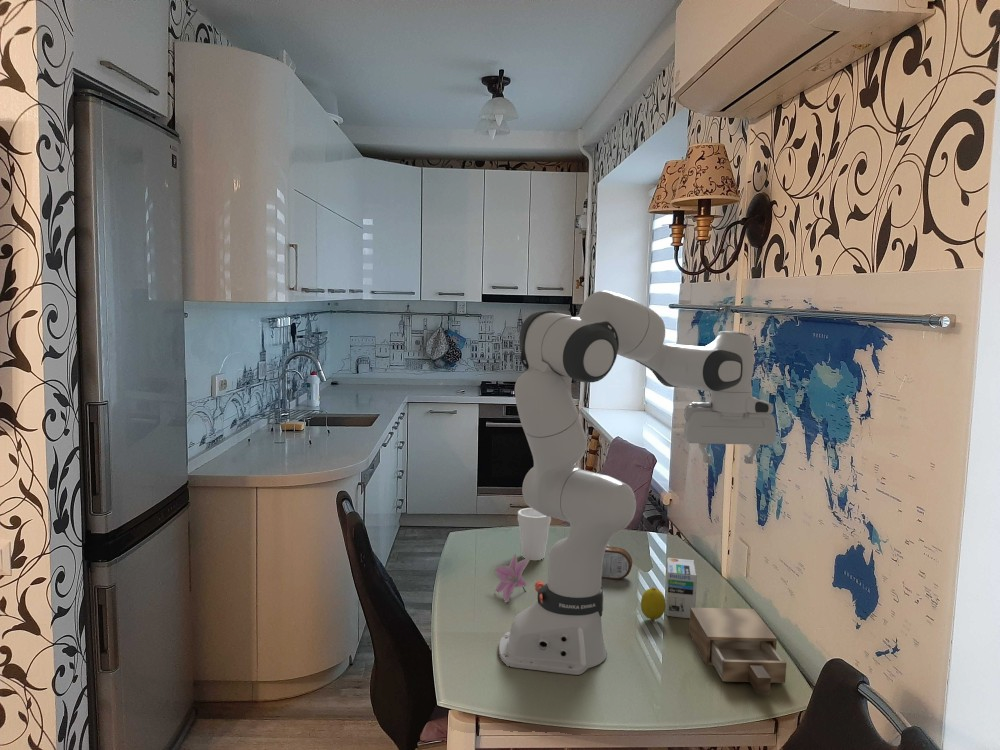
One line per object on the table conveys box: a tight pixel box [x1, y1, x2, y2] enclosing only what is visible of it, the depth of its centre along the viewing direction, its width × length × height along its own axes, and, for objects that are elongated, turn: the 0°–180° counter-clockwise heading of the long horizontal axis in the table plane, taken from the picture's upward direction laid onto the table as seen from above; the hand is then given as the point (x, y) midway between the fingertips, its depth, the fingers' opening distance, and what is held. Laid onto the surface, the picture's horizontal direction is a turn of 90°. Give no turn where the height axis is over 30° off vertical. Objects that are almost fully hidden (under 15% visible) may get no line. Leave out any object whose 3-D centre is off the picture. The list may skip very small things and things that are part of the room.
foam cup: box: [517, 507, 552, 561], centre depth 208 cm, size 10×9×13 cm
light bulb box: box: [665, 557, 698, 619], centre depth 175 cm, size 11×7×11 cm, turn 168°
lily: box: [494, 553, 530, 603], centre depth 182 cm, size 12×12×10 cm
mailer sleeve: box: [688, 607, 778, 666], centre depth 156 cm, size 14×14×6 cm
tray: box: [710, 640, 787, 694], centre depth 145 cm, size 12×18×4 cm, turn 0°
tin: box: [601, 545, 633, 581], centre depth 194 cm, size 15×3×8 cm, turn 77°
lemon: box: [640, 587, 666, 622], centre depth 169 cm, size 6×6×8 cm
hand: (727, 462), depth 167 cm, fingers open, 8 cm apart
